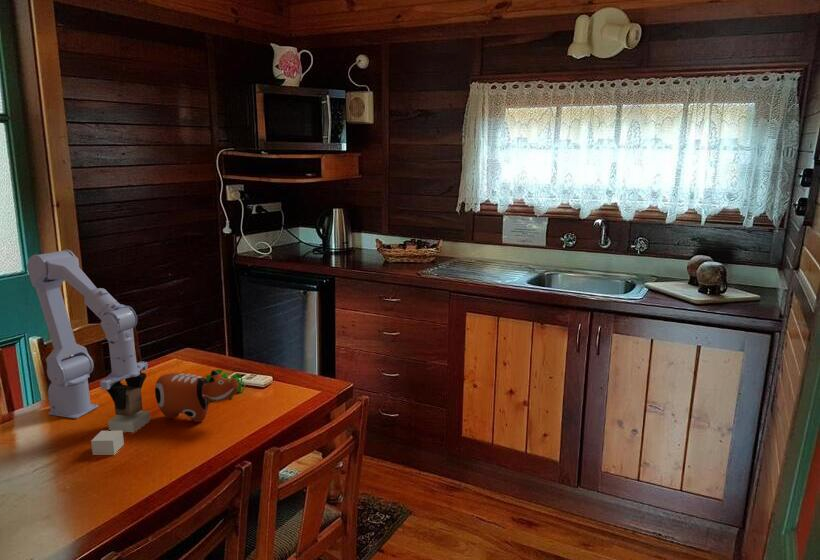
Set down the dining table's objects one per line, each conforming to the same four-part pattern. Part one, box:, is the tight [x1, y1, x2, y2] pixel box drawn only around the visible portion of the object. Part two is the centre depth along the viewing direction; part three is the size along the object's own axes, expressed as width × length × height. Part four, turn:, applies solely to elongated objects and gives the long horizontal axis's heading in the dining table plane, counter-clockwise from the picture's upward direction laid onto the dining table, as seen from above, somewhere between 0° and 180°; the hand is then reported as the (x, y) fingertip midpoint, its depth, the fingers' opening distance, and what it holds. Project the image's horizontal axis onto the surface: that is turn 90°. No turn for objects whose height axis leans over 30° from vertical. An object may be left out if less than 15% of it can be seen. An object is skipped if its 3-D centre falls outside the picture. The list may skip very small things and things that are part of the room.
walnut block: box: [113, 386, 144, 417], centre depth 150 cm, size 4×4×6 cm
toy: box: [154, 369, 239, 423], centre depth 152 cm, size 10×23×15 cm, turn 78°
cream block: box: [90, 430, 125, 456], centre depth 138 cm, size 5×5×4 cm
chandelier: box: [205, 369, 246, 402], centre depth 172 cm, size 15×15×7 cm
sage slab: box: [107, 410, 151, 434], centre depth 151 cm, size 7×7×3 cm
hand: (128, 404), depth 150 cm, fingers closed on walnut block, 4 cm apart
